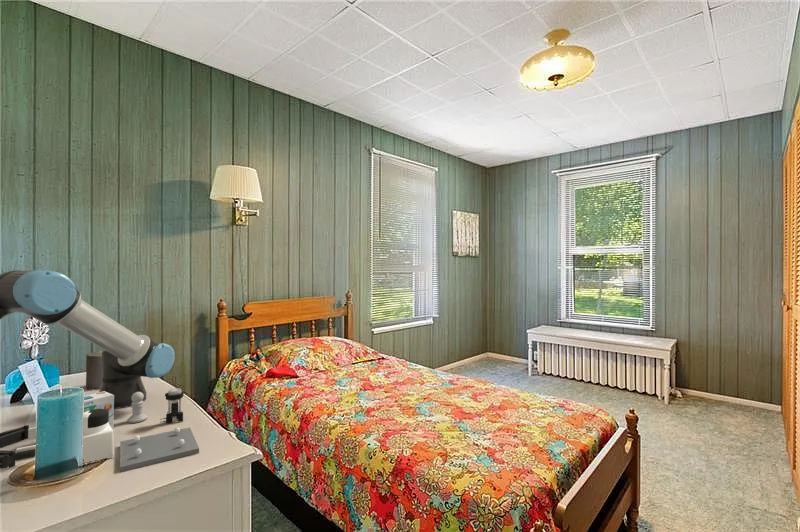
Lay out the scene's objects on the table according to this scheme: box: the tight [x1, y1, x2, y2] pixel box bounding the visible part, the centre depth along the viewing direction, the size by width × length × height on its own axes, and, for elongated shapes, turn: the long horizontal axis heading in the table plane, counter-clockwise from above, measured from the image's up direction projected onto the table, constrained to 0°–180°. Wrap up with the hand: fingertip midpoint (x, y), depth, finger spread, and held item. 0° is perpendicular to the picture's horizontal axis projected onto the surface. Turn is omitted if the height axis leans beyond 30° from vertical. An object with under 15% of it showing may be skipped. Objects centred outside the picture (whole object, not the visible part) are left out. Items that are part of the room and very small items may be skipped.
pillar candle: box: [85, 349, 102, 390], centre depth 165 cm, size 10×10×15 cm
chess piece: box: [126, 392, 148, 424], centre depth 128 cm, size 5×5×9 cm
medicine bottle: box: [83, 409, 114, 462], centre depth 102 cm, size 7×7×12 cm
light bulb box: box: [83, 391, 115, 431], centre depth 118 cm, size 11×7×11 cm, turn 148°
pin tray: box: [119, 426, 200, 473], centre depth 107 cm, size 17×17×3 cm
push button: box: [159, 387, 185, 424], centre depth 126 cm, size 7×5×10 cm
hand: (59, 437), depth 98 cm, fingers open, 13 cm apart
